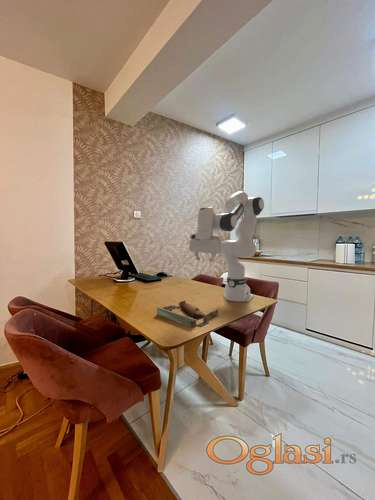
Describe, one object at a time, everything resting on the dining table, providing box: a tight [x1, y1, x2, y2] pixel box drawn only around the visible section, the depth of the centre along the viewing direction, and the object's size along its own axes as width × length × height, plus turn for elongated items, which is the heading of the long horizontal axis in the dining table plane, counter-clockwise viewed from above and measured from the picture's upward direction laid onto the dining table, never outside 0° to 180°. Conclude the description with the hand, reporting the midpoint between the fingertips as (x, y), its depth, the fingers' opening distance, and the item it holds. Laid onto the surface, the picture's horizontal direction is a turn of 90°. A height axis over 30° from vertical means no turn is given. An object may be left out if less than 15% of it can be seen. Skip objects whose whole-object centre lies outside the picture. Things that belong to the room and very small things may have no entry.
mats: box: [172, 305, 210, 328], centre depth 117 cm, size 8×33×1 cm, turn 36°
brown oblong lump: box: [180, 302, 205, 320], centre depth 120 cm, size 18×7×7 cm
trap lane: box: [156, 300, 219, 329], centre depth 117 cm, size 22×24×4 cm
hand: (204, 260), depth 124 cm, fingers open, 8 cm apart
